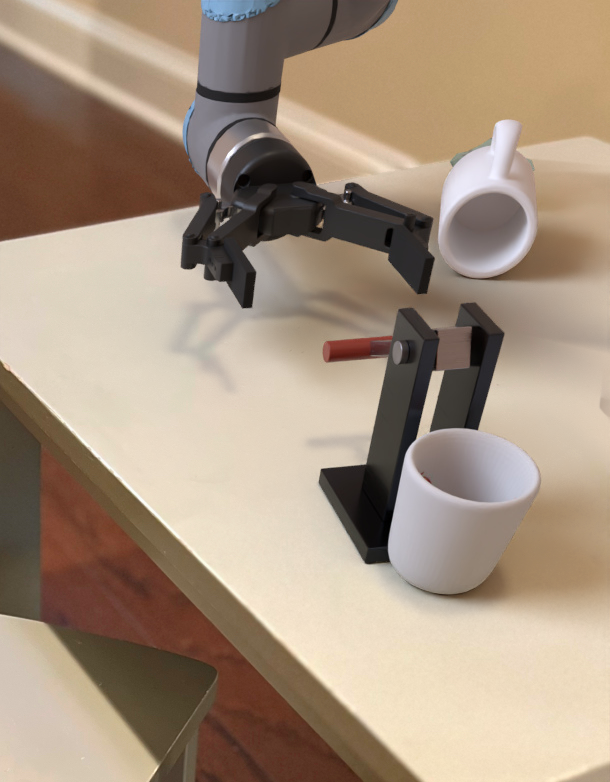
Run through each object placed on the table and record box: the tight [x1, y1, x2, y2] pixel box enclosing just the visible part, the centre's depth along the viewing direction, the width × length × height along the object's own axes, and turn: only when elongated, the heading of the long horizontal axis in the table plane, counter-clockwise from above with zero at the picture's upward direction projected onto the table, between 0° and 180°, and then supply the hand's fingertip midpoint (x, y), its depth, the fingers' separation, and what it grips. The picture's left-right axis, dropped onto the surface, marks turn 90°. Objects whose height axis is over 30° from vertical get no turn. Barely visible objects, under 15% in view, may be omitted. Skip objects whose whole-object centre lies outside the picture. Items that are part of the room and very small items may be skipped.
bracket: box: [317, 301, 505, 564], centre depth 76 cm, size 10×9×14 cm
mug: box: [437, 119, 539, 279], centre depth 107 cm, size 8×10×12 cm
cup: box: [388, 428, 542, 595], centre depth 74 cm, size 11×8×8 cm
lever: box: [322, 326, 472, 372], centre depth 77 cm, size 13×7×2 cm, turn 8°
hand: (338, 283), depth 88 cm, fingers open, 13 cm apart
